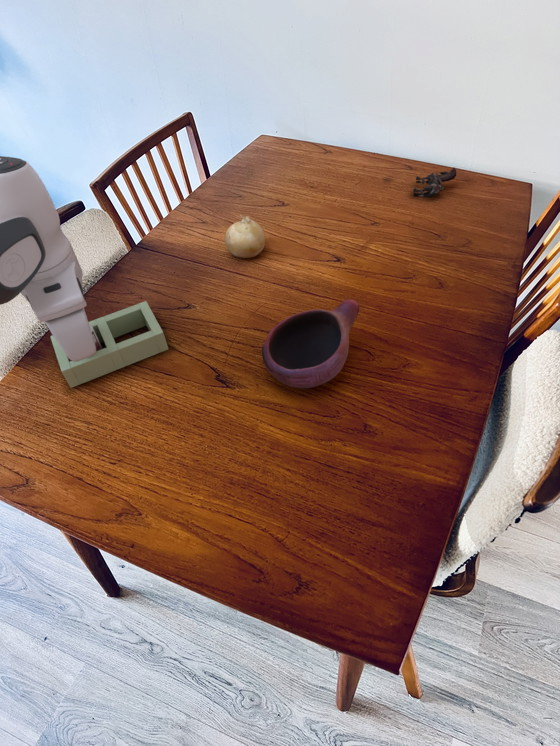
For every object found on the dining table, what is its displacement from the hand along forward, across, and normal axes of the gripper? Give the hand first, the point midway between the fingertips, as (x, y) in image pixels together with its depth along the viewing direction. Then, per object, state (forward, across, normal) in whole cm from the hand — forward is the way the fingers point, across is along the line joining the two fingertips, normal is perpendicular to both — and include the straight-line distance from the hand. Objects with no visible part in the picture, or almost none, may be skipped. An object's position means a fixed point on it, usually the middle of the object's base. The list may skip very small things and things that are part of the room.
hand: (81, 341), depth 83 cm
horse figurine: (+4, -13, +77) cm, 78 cm away
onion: (+4, -13, +35) cm, 38 cm away
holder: (+4, 0, +4) cm, 6 cm away
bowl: (+5, +19, +31) cm, 37 cm away
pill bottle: (+4, 0, 0) cm, 4 cm away
